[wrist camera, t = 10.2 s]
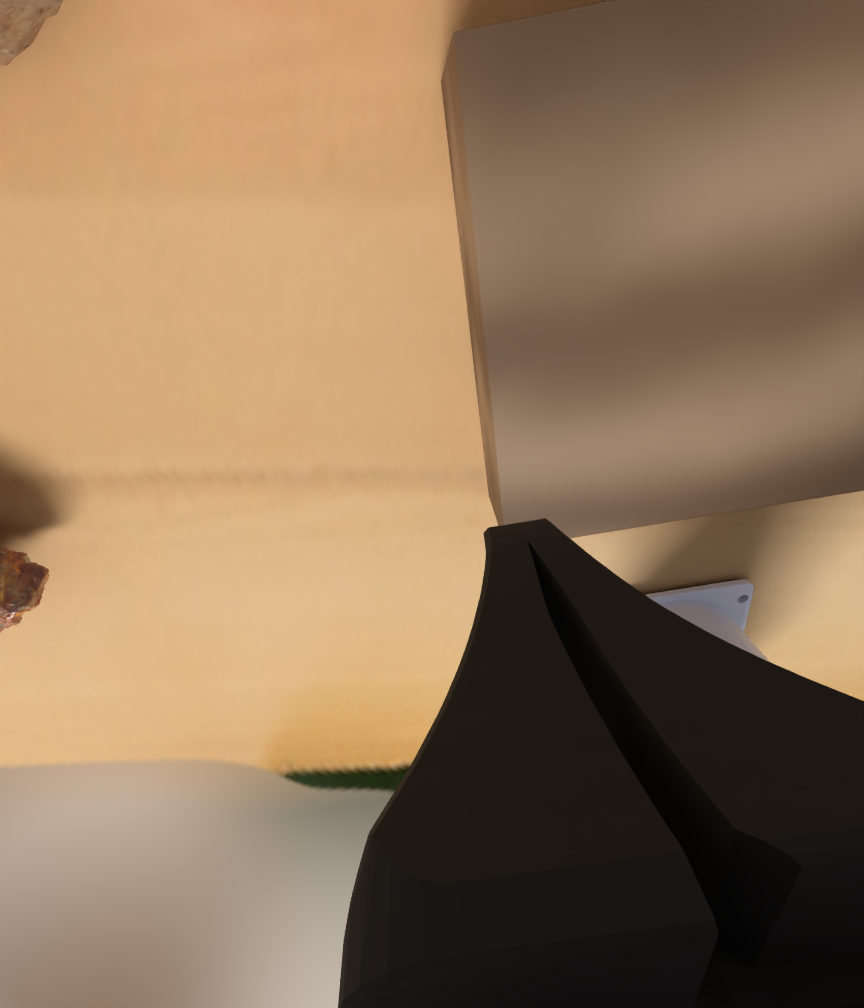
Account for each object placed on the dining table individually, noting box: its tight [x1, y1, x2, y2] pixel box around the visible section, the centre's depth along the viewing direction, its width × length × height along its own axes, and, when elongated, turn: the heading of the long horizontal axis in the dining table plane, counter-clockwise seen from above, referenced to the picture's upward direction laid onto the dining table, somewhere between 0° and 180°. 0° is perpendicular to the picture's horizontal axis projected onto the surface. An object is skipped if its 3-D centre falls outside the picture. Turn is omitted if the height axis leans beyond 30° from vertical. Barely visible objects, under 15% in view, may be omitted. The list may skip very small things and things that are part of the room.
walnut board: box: [441, 0, 864, 538], centre depth 15 cm, size 14×16×4 cm
